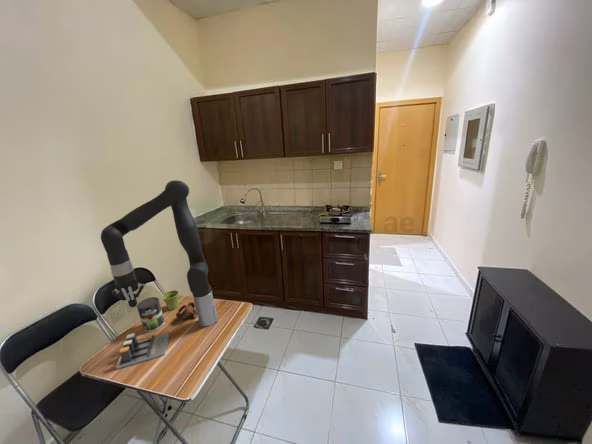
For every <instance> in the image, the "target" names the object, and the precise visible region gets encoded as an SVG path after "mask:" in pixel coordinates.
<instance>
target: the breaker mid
mask: <svg viewBox="0 0 592 444" xmlns="http://www.w3.org/2000/svg"><path fill="white" fill-rule="evenodd" d="M122 346H123V348H124V347H128V346H129V348H130V351H131V353H133V352H134V351H135V347H134V344H133V341H132V340H128V341H127V340H125V341H123V344H122Z"/></svg>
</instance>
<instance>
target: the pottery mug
mask: <svg viewBox="0 0 592 444" xmlns="http://www.w3.org/2000/svg"><path fill="white" fill-rule="evenodd" d="M188 312H190V313H191V312H192V313H193V315H192V317H193V318H194V319H196V318H198V315H197V311H196V307H195V302H194V301H190V302H188V304H184V305H182V306H181V307H180V308H179V309H178V310H177V312H176V314H175V317H176V318H177V320H178V321H179V320H184V317H185V316H189V315H190V314H189V313H188Z"/></svg>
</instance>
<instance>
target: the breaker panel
mask: <svg viewBox="0 0 592 444" xmlns="http://www.w3.org/2000/svg"><path fill="white" fill-rule="evenodd" d="M169 338H170V333H169V332H166V333H162V334H159V335H156V336H155V335H152V336H151V337H147V338H144V339H141V340H137V342H138V343H137V345H136V346H134V347H135V351H134V352H133V353H131V354H132V358H131V360H128V361H125V362H123V360H122V358H121V355H120V356H119V358H118V360H117V363H116V365H115V369H116V370H120V369H123V368H126V367H129V366H132V365H136V364H139V363H143V362H145V361H148V360H149V361H150V360H152V359H156V358H159V357H162V356H165V355H166V352H167V347H168V344H169Z"/></svg>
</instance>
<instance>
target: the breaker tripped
mask: <svg viewBox="0 0 592 444" xmlns="http://www.w3.org/2000/svg"><path fill="white" fill-rule="evenodd" d="M119 355H120V356H121V358H122V360H123V362H125V361H128V360H131V358H132V354H131V351H130V348H129V346H128V347H124V346H123V347H121V348H120V350H119Z"/></svg>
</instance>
